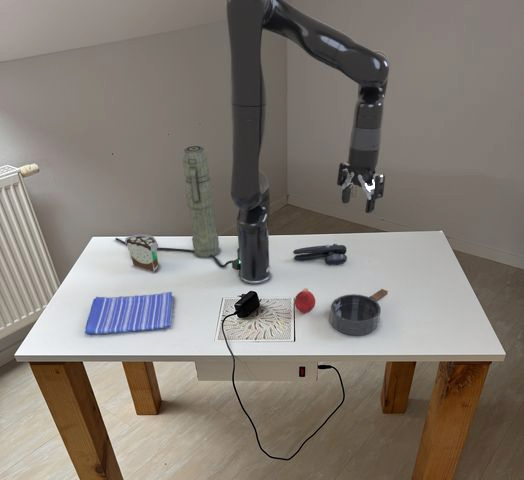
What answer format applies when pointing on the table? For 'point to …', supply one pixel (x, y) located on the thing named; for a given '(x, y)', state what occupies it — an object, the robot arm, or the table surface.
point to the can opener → (323, 253)
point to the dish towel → (130, 313)
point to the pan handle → (379, 295)
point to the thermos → (200, 202)
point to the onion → (305, 301)
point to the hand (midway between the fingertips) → (357, 207)
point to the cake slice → (143, 251)
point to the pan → (355, 314)
